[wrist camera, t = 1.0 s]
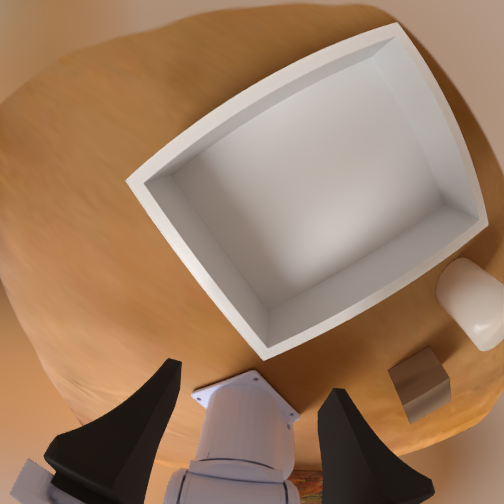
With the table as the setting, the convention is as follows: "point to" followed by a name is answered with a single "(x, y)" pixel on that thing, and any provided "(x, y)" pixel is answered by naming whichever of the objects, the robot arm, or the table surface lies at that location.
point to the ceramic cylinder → (473, 302)
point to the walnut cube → (421, 384)
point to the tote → (317, 190)
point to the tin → (308, 485)
